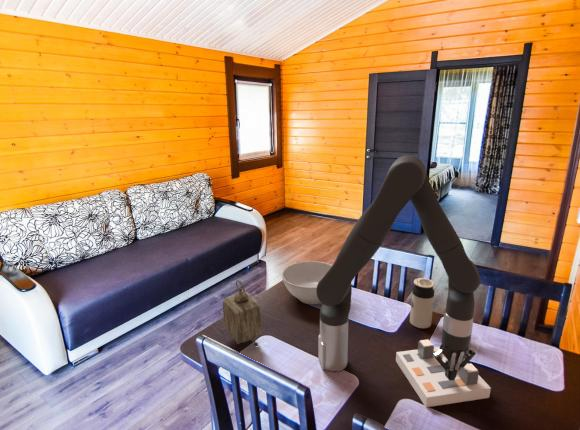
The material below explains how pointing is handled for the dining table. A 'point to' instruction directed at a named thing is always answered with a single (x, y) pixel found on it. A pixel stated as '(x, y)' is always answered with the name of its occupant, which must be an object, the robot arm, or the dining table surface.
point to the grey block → (469, 374)
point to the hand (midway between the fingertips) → (450, 378)
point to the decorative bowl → (305, 279)
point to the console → (437, 380)
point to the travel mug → (422, 303)
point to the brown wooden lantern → (242, 316)
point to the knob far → (425, 348)
